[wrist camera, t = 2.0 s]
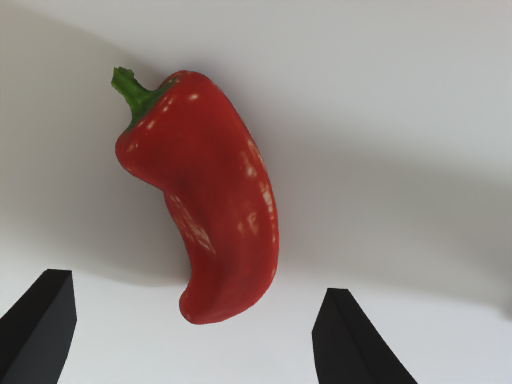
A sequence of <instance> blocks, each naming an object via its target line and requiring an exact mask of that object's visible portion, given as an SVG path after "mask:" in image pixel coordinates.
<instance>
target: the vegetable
mask: <svg viewBox="0 0 512 384" xmlns="http://www.w3.org/2000/svg"><path fill="white" fill-rule="evenodd" d="M111 84H112V86H113V87H114V88H115V89H116V90H117V91H118V92H119V93H121V94H122V95H123V96H124V97H125V99H126V101H127V103H128V104H129V106H130V108H131V112H132V121H131V124H130V125H129V127H128V128H127V129H126V130H125V131H124V132H123V133H122V134H121V135H120V136H119V138H118V139H117V142H116V146H115V153H116V156H117V159H118V161H119V162H120V164H121V165H122V167H123V168H124V169H126V170H127V171H128V172H129V173H130V174H132V175H133V176H135V177H137V178H139V179H141V180H143V181H145V182H147V183H149V184H151V185H153V186H155V187H157V188H159V189H160V190H162V191H163V193H164V198H165V202H166V206H167V208H168V211H169V213H170V215H171V217H172V219H173V220H174V222H175V224H176V225H177V227H178V229H179V231H180V233H181V235H182V238H183V240H184V243H185V246H186V249H187V252H188V255H189V259H190V263H191V269H192V270H191V278H190V280H189V283H188V286H187V288H186V290H185V291H184V292H183V294H182V295H181V297H180V300H179V309H180V312H181V314H182V316H183V317H184V318H185V319H186V320H187V321H189V322H190V323H192V324H198V325H201V324H208V323H216V322H221V321H224V320H226V319H228V318H231V317H233V316H235V315H237V314H239V313H241V312H243V311H245V310H246V309H248V308H249V307H251V306H253V305H254V304H255V303H256V302H257V301H258V300H259V299H260V298H261V297H262V296H263V294H264V293H265V292H266V290H267V289H268V288H269V286H270V284H271V283H272V280H273V278H274V276H275V273H276V269H277V260H278V251H279V231H278V218H277V210H276V205H275V200H274V196H273V192H272V188H271V184H270V181H269V178H268V175H267V172H266V169H265V166H264V163H263V160H262V158H261V155H260V153H259V151H258V148H257V146H256V144H255V142H254V141H253V139H252V137H251V135H250V133H249V132H248V130H247V128H246V126H245V125H244V123H243V121H242V119H241V118H240V116H239V115H238V113H237V112H236V110H235V108H234V107H233V105H232V104H231V102H230V101H229V100H228V98H227V97H226V96H225V95H224V93H223V92H222V91H221V90H220V89H219V87H218V86H217V85H215V84H214V83H213V82H212V81H211V80H210V79H209V78H207V77H206V76H204V75H202V74H200V73H197V72H189V71H185V70H184V71H178V72H175V73H173V74H172V75H170V76H169V77H168V78H167V79H166V80H165V81H164V82H163V83H162V84H161V85H160V87H159V88H158V90H156V91H149V90H146V89H145V88H143V87H142V86H141V85H140V84H139V83H138V82H137V80H136V79H135V78H134V73H133V72H132V71H131V70H127V69H125V68H122V67H119V68H118V69H117V68H115V67H114V75H113V79H112V82H111Z"/></svg>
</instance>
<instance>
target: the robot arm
mask: <svg viewBox="0 0 512 384" xmlns="http://www.w3.org/2000/svg"><path fill="white" fill-rule="evenodd" d="M76 322H77V316H76V307H75V298H74V289H73V280H72V271H71V270H57V269H47V270H46V271H44V272H43V273H42V274H41V275H40V277H39V278H38V279H37V280H36V281H35V282H34V283H33V284H32V286H31V287H30V288H29V289H28V290H27V291H26V292H25V293H24V294H23V296H22V297H21V298H20V299H19V300H18V301H17V302H16V303H15V304H14V305H13V306H12V307H11V308H10V309H9V310H8V312H7V313H6V314H5V315H4V316H3V317H2V318H1V319H0V384H57V382H58V379H59V377H60V374H61V372H62V369H63V366H64V364H65V361H66V359H67V356H68V352H69V349H70V345H71V341H72V338H73V334H74V330H75V326H76ZM312 342H313V352H314V360H315V368H316V372H317V377H318V381H319V384H418V383H417V382H416V381H415V380H414V378H413V377H412V376H411V375H410V373H409V372H408V371H407V370H406V369H405V367H404V366H403V365H402V364H401V362H400V361H399V360H398V358H397V357H396V356H395V354H394V353H393V352H392V350H391V349H390V348H389V346H388V345H387V344H386V342H385V341H384V340H383V338H382V337H381V336H380V334H379V333H378V332H377V330H376V329H375V327H374V326H373V325H372V323H371V322H370V320H369V319H368V317H367V316H366V315H365V313H364V312H363V310H362V309H361V307H360V306H359V304H358V303H357V301H356V300H355V299H354V297H353V296H352V294H351V293H350V292H349V290H348V289H338V288H328V289H327V292H326V294H325V297H324V300H323V303H322V305H321V308H320V311H319V313H318V316H317V319H316V322H315V324H314V327H313V330H312Z"/></svg>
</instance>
